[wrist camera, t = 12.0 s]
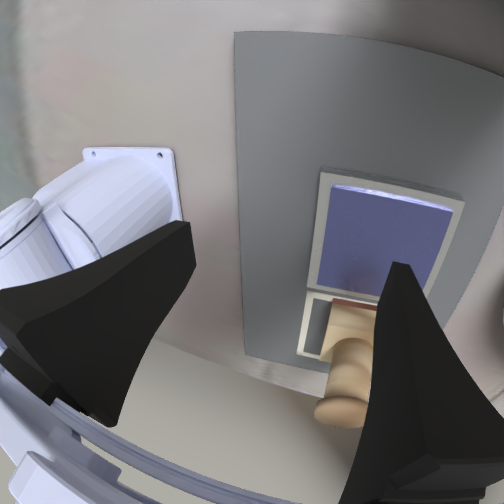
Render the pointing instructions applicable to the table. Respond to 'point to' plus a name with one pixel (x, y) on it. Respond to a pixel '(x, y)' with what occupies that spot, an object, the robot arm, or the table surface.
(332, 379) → the stamp
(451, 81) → the desk mat
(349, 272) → the ink pad
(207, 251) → the table surface
